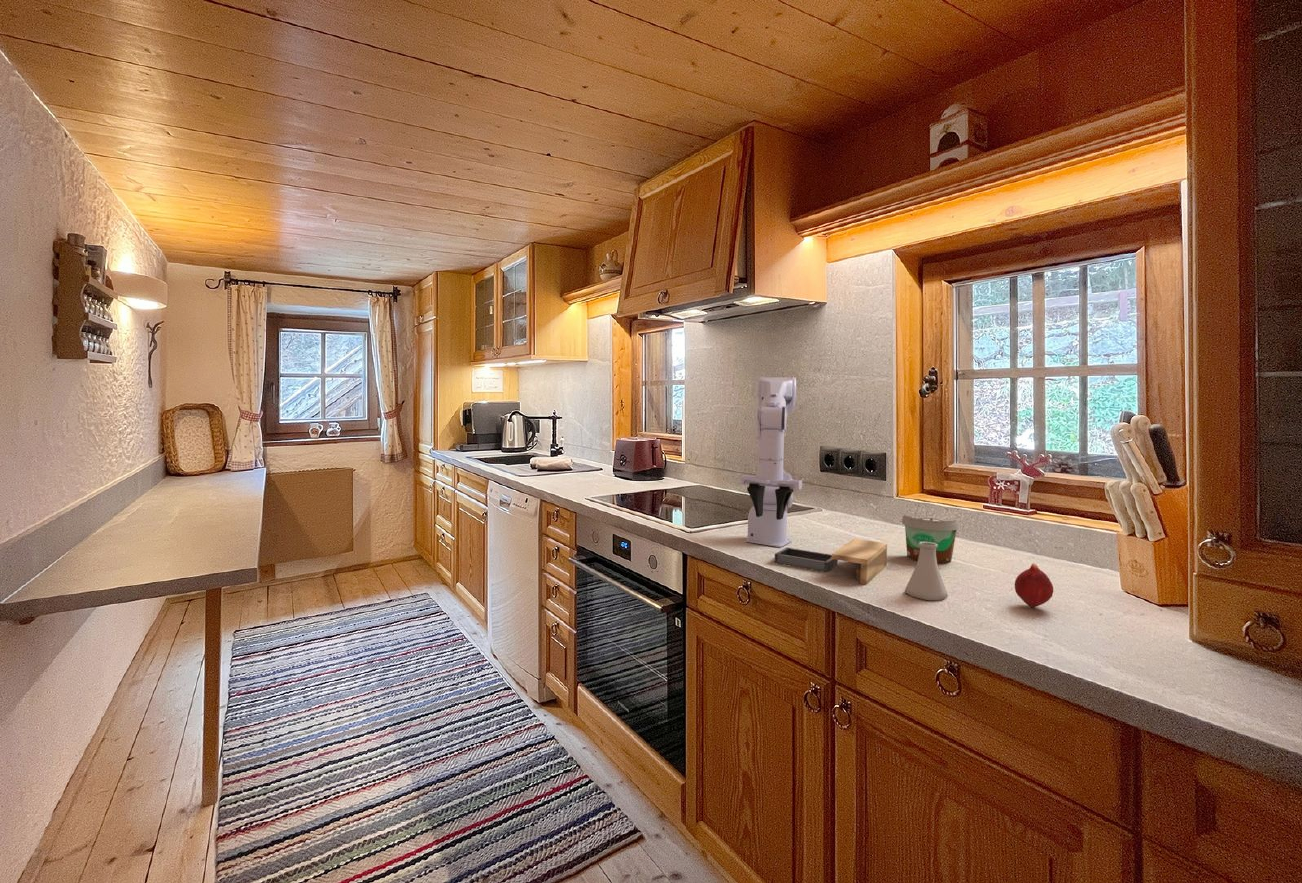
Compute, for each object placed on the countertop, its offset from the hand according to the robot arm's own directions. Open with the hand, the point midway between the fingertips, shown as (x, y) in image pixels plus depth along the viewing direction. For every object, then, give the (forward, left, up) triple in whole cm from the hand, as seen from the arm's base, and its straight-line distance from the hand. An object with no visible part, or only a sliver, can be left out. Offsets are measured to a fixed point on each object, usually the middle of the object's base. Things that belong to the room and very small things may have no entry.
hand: (769, 517), depth 138 cm
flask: (+35, -6, -10) cm, 37 cm away
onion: (+52, -2, -10) cm, 53 cm away
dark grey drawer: (+9, 0, -10) cm, 13 cm away
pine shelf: (+20, +1, -9) cm, 23 cm away
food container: (+31, +19, -10) cm, 37 cm away
